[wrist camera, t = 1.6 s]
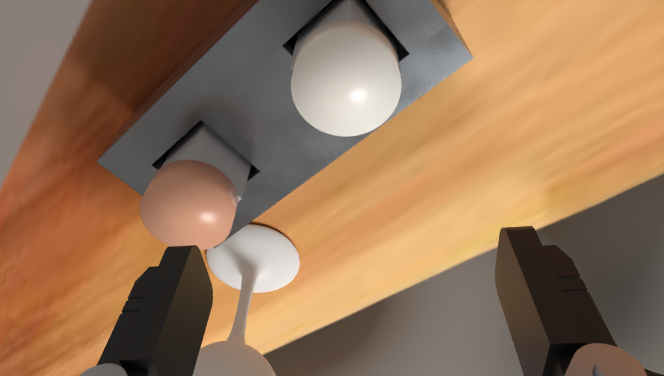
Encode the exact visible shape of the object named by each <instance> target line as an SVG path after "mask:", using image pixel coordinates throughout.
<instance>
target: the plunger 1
mask: <svg viewBox="0 0 664 376" xmlns="http://www.w3.org/2000/svg"><path fill="white" fill-rule="evenodd" d="M250 168H251V163H250V162H249V161H248V160H247V159H245V158H244V157H243V156H242V155H241V154H240V153H239V152H237V151H236V150H235V149H234V148H233V147H232V146H230V145H229V144H228V143H227V142H226V141H225V140H223V139H222V138H221V137H220V136H219V135H218V134H216V133H215V132H214V131H213V130H212V129H211V128H209V127H208V126H207V125H206V124H205V123H204V122H203V121H202V122H200V123H199V124H198V125H197V126H196V127H195V128H194V129H193V130H192V131H191V132H189V133H188V134H187V135H186V136H185V137H184V138H183V139H182V140H181V141H180V142H178V143H177V144H176V145H175V146H174V147H173V148H172V149H171V150H170V152H169V154H168V156H167V158H166V160H165V161H164V163H163V165H162V167H161V168H160V169H159V170H158V171H157V172H156V174H155V175H154V177H153V179H152V180H151V182H150V184H149V186H148V188H147V190H146V191H145V193H144V195H143V197H142V199H141V202H140V215H141V219H142V221H143V223H144V225H145V226H146V228H147V229H148V230H149V232H150V233H151V234H152V235H153V236H155V237H156V238H157V239H159V240H160V241H162V242H163V243H165V244H167V245H169V246H188V245H197V246H198V247H199V249H200V250H206V249H210V248H213V247H215V246H217V245H219V244H220V243H222V242H223V241H224V240H225V239H226V238H227V236H228V235H229V233H230V231H231V228H232V224H233V221H234V217H235V213H236V210H237V206H238V201H240V200H241V199H242V197H243V193H244V189H245V186H246V182H247V178H248V175H249V171H250Z"/></svg>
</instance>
